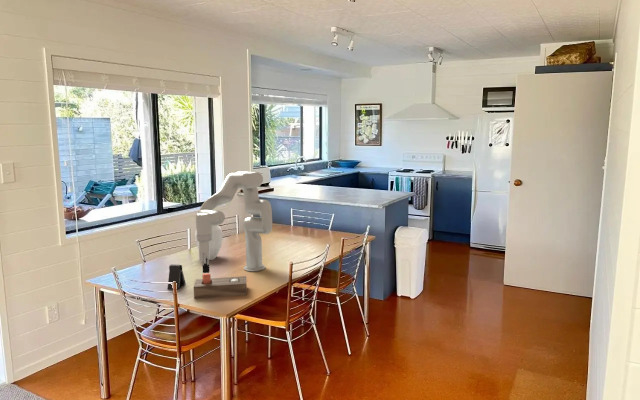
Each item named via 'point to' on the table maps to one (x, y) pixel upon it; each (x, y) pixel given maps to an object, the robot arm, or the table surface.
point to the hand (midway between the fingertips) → (206, 272)
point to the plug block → (220, 287)
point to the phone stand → (176, 276)
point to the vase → (213, 241)
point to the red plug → (206, 278)
